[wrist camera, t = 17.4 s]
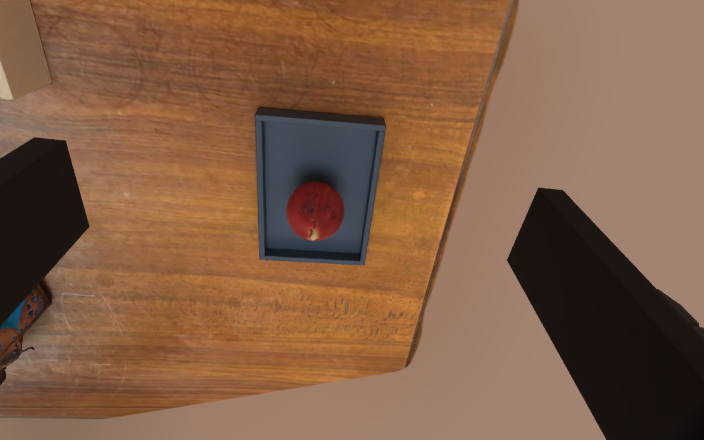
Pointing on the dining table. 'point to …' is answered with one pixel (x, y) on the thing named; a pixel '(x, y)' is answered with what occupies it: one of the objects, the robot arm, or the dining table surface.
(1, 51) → the beige open rectangular box
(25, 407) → the dining table surface
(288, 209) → the onion
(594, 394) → the robot arm
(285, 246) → the tray
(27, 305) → the lantern
